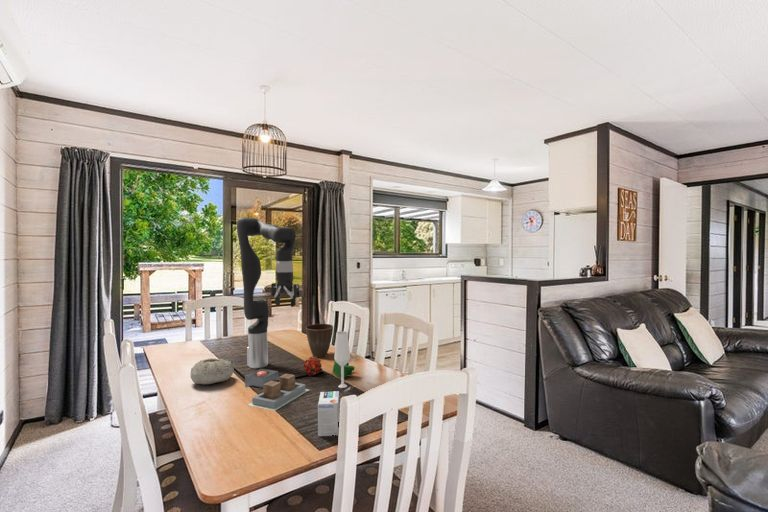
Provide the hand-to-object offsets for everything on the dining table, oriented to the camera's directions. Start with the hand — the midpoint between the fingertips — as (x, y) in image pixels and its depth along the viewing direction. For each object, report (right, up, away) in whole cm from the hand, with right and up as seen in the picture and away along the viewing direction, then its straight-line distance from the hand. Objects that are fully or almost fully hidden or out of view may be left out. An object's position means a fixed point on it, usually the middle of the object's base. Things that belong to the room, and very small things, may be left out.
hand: (285, 306), depth 182 cm
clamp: (+27, -33, +4) cm, 43 cm away
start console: (-8, -34, -8) cm, 35 cm away
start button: (-8, -32, -8) cm, 34 cm away
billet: (+6, -33, -20) cm, 39 cm away
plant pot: (+10, -32, +35) cm, 49 cm away
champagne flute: (+28, -34, -13) cm, 46 cm away
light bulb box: (+27, -35, -49) cm, 66 cm away
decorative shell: (-32, -34, -4) cm, 47 cm away
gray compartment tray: (+4, -34, -24) cm, 42 cm away
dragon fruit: (+12, -33, +5) cm, 36 cm away
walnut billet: (+2, -33, -29) cm, 44 cm away
